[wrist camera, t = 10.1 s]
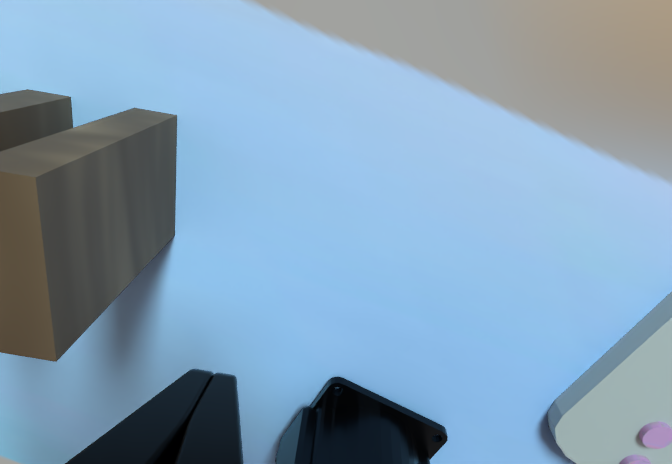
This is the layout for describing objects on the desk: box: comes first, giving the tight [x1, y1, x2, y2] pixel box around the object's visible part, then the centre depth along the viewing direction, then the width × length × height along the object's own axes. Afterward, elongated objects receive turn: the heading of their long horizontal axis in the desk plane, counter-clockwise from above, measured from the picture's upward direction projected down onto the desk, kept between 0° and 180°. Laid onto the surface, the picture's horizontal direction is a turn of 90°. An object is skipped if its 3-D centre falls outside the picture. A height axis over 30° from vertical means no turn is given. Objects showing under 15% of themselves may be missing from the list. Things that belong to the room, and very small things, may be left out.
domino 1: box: [0, 108, 177, 362], centre depth 14 cm, size 2×5×8 cm, turn 171°
